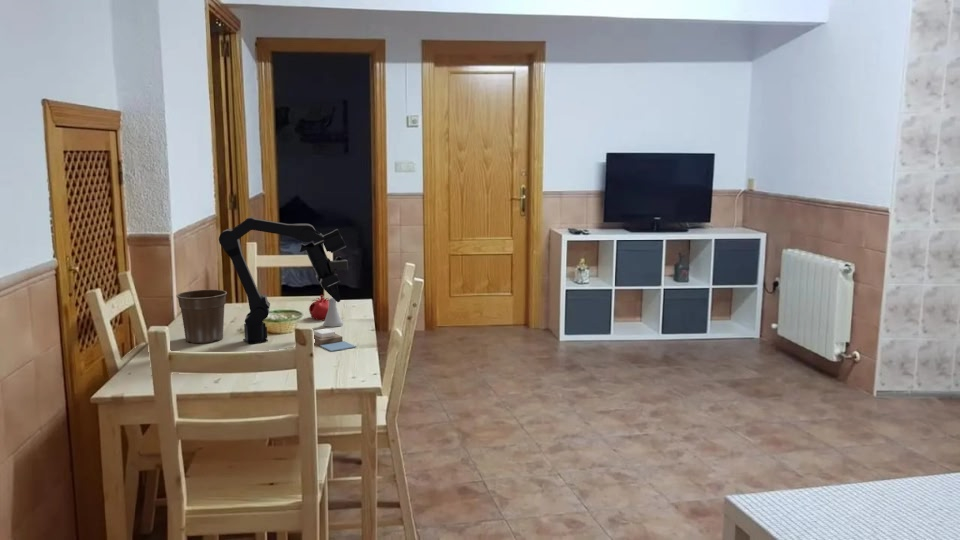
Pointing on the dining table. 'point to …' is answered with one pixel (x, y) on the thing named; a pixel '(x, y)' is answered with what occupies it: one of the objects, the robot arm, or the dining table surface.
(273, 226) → the robot arm
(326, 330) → the white flat block
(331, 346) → the mat
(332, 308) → the flask
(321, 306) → the pomegranate
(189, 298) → the plant pot
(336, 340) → the deck
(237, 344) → the dining table surface
